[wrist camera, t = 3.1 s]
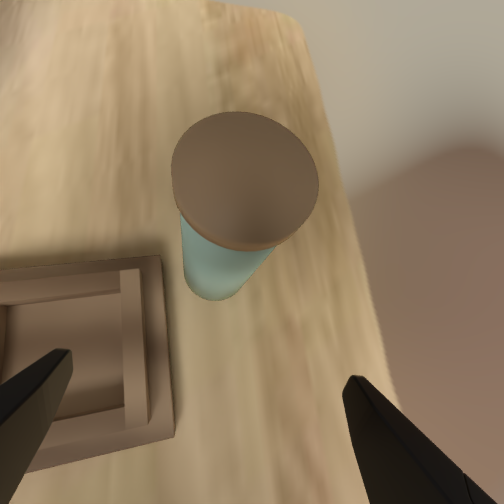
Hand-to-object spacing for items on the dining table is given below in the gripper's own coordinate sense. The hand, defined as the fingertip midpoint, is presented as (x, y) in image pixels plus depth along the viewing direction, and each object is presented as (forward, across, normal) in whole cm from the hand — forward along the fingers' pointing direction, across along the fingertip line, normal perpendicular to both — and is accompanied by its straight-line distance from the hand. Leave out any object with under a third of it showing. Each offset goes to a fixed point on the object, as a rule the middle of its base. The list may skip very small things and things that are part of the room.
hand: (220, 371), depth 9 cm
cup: (+14, 0, +4) cm, 14 cm away
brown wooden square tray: (+9, +8, +9) cm, 15 cm away
